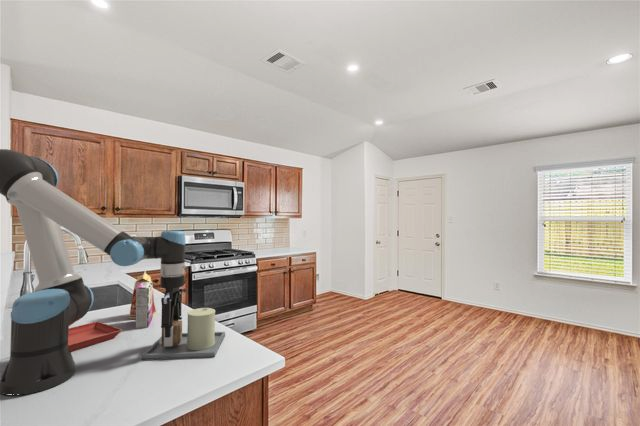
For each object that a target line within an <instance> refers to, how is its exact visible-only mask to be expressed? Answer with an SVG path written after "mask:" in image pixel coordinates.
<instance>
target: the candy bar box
mask: <svg viewBox="0 0 640 426" xmlns="http://www.w3.org/2000/svg"><path fill="white" fill-rule="evenodd" d="M152 286H153V281H151V282H145V283H144V282H143V283H140V284H139V285H138V287H137V288H136V313H135V319H134V322H135V323H134V327H135V329H145V328H149V326H150V324H151V322H152V319H153V317H152Z"/></svg>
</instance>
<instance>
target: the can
mask: <svg viewBox="0 0 640 426" xmlns="http://www.w3.org/2000/svg"><path fill="white" fill-rule="evenodd" d="M215 320H216V309H214V308H211V307H200V308H199V307H198V308H193V309H191V310H189V311H188V312H187V332H186V333H187V348H188V349H190V350H203V349H207V348H210V347H212V346H213V345H214V344H215V332H216V331H215V329H216V327H215V326H216V323H215V322H216V321H215Z"/></svg>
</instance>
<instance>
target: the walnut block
mask: <svg viewBox="0 0 640 426" xmlns="http://www.w3.org/2000/svg"><path fill="white" fill-rule="evenodd" d="M172 326H173V346H178V345H179V343H180V342H181V341H182V333H183V320H178V321H173V323H172ZM161 336H162V347H164V328H161ZM169 347H171V346H169Z"/></svg>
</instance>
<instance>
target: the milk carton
mask: <svg viewBox="0 0 640 426" xmlns="http://www.w3.org/2000/svg"><path fill="white" fill-rule="evenodd" d="M143 282H144V283H145V282H152V277H151V276H150V275H149V274H148V273H147V271H146V270H144V273H143V274H141V275H140V276H137V277H136V280H135V282H134V287H133V293H132V298H131V303H130V309H129V316H128V317H129V318H128V319H129V320H135V313H136V288H137V287H138V285H139V284H140V283H143ZM156 313H157V309H156V306H155V297H154V286H153V285H152V318H154V315H155V314H156Z"/></svg>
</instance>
